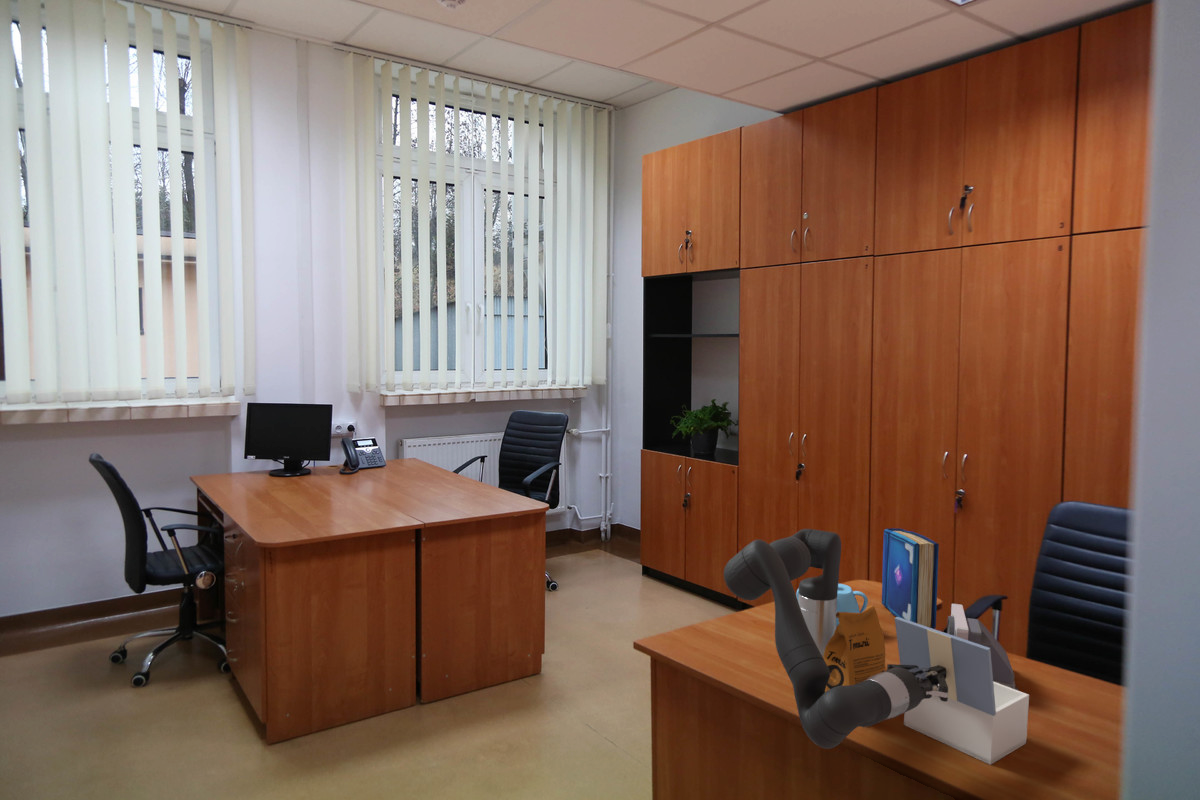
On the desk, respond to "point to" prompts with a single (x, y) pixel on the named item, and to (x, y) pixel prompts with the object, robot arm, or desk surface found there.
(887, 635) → the desk surface
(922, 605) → the book
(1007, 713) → the storage box
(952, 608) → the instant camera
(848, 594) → the decorative pot
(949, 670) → the lid
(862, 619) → the coffee package
